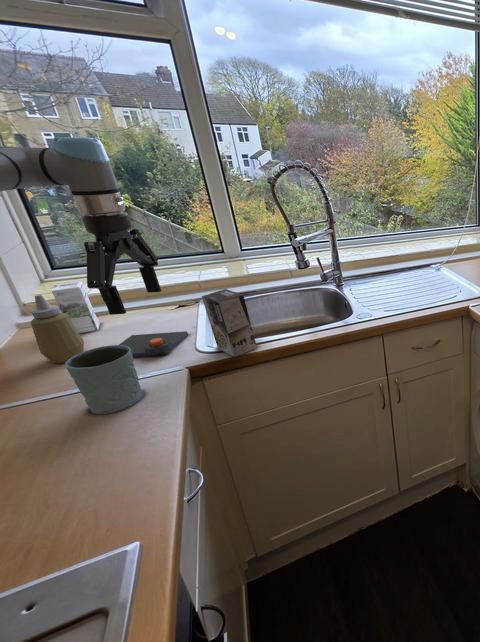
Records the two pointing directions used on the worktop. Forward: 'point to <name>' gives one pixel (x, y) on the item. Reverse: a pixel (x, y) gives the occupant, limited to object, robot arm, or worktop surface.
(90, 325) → the syrup box
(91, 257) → the robot arm
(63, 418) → the worktop surface
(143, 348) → the scale
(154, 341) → the tare button
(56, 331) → the squeeze bottle
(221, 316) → the coffee box
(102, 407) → the grey-green plant pot
